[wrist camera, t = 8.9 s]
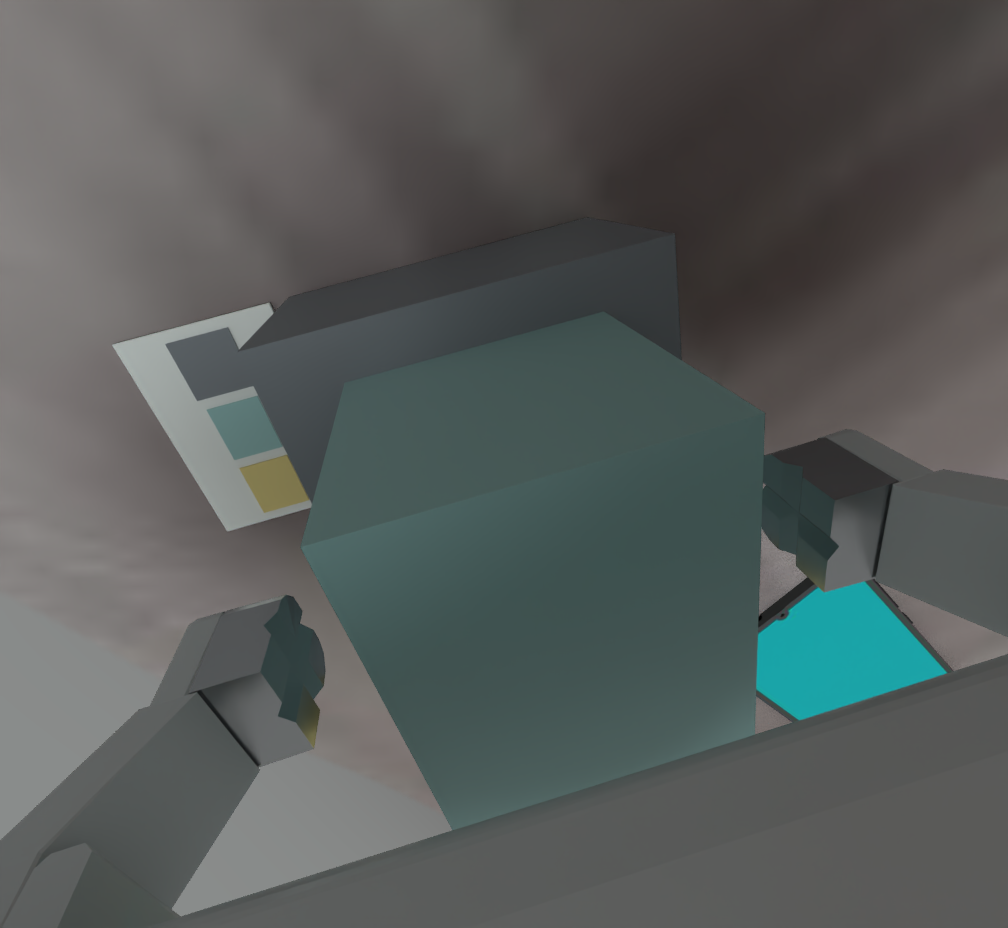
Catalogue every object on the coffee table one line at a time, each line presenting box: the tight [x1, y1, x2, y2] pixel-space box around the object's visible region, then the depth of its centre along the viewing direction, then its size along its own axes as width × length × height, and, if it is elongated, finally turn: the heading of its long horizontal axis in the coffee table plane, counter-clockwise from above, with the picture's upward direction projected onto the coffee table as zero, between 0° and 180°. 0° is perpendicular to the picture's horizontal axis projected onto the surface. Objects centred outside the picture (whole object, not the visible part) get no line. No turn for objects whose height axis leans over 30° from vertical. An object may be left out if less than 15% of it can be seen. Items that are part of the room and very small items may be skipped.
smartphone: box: [756, 578, 953, 722], centre depth 26 cm, size 7×1×15 cm
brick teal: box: [300, 312, 765, 830], centre depth 9 cm, size 6×5×5 cm
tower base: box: [237, 217, 682, 503], centre depth 13 cm, size 8×8×5 cm
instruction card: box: [112, 302, 312, 531], centre depth 15 cm, size 6×4×1 cm, turn 13°
